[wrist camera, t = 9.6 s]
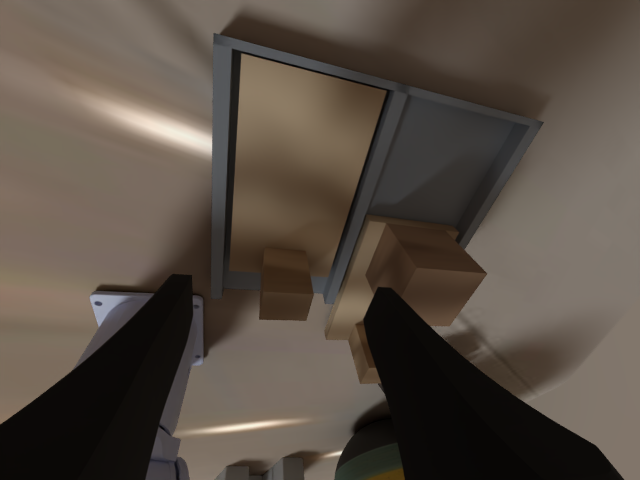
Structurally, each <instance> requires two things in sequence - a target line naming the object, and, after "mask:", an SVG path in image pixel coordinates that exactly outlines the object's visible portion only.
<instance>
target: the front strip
mask: <svg viewBox="0 0 640 480" xmlns="http://www.w3.org/2000/svg"><path fill="white" fill-rule="evenodd" d="M386 92H387V91H385V90H382V89H379V88H375V87H371V86H368V85H364V84H360V83H356V82H352V81H348V80H344V79H340V78H337V77H333V76H329V75H325V74H321V73H317V72H313V71H310V70H306V69H302V68H298V67H294V66H290V65H286V64H283V63H279V62H275V61H271V60H267V59H263V58H259V57H255V56H252V55H248V54H244V53H242V54H241V71H240V89H239V106H238V124H237V142H236V159H235V177H234V195H233V212H232V230H231V248H230V265H229V271H241V272H256V273H261V287H260V314H259V319H260V320H299V321H306V320H307V316H308V313H309V309H310V306H311V302H312V299H313V296H314V292H313V287H312V281H311V276H315V277H328V276H329V273H330V270H331V267H332V264H333V260H334V257H335V254H336V251H337V248H338V245H339V241H340V238H341V235H342V232H343V229H344V225H345V222H346V219H347V216H348V213H349V210H350V206H351V203H352V200H353V197H354V194H355V190H356V187H357V184H358V181H359V178H360V175H361V171H362V168H363V165H364V162H365V159H366V156H367V152H368V149H369V146H370V143H371V140H372V136H373V133H374V130H375V127H376V124H377V121H378V117H379V114H380V111H381V108H382V105H383V101H384V98H385V95H386Z"/></svg>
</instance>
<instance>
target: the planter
mask: <svg viewBox="0 0 640 480" xmlns="http://www.w3.org/2000/svg"><path fill="white" fill-rule="evenodd" d="M334 480H405V477H404V472H403V467H402V462H401V457H400V452H399V448H398V443H397V438H396V434H395V430H394V426H393V421H392V419H386V420H381V421H377V422H374V423H372V424H369V425H367V426H366V427H364V428H362V429H361V430H359V431H358V432H357V433H356V434H355V435H354V436H353V437H352V438H351V439H350V441H349V442H348V443H347V445H346V447H345V448H344V450H343V452H342V454H341V456H340V459H339V461H338V464H337V468H336V472H335V479H334Z"/></svg>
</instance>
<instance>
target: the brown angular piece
mask: <svg viewBox="0 0 640 480" xmlns="http://www.w3.org/2000/svg"><path fill="white" fill-rule="evenodd" d="M386 223H389V224H397V225H405V226H413V227H421V228H429V229H437V230H445V231H446V232H447V233H448V234H449V235H450V236H451V237H452V238H453V239H454V240H455V239H456V237H457V235H458V234H459V232H458V231H457V230H456V229H455V228H454V227H453V226H451V225H444V224H436V223H429V222H421V221H414V220H406V219H398V218H391V217H383V216H376V215H368V214H366V215H365V218H364V221H363V224H362V227H361V229H360V232H359V235H358V238H357V241H356V243H355V246H354V249H353V252H352V255H351V258H350V260H349V263H348V266H347V269H346V272H345V275H344V277H343V280H342V283H341V286H340V289H339V291H338V294H337V297H336V300H335V303H334V306H333V308H332V311H331V314H330V317H329V320H328V322H327V325H326V328H325V331H324V332H325V337H326V340H348V341H349V345H350V348H351V352H352V356H353V359H354V363H355V367H356V370H357V374H358V378H359V381H360V384H370V383H381V381H380V378H379V375H378V372H377V369H376V367H375V364H374V361H373V358H372V355H371V352H370V349H369V346H368V342H367V338H366V333H365V328H364V322H363V318H364V316H365V314H366V312H367V310H368V307H369V305H370V303H371V301H372V299H373V296H374V295H373V292H372V290H371V287H370V285H369V283H368V280H367V278H366V276H365V274H366V272H367V269H368V267H369V265H370V262H371V260H372V257H373V255H374V252H375V250H376V247H377V245H378V242H379V240H380V238H381V235H382V233H383V230H384V228H385V225H386Z"/></svg>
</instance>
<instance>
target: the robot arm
mask: <svg viewBox="0 0 640 480" xmlns="http://www.w3.org/2000/svg"><path fill="white" fill-rule="evenodd" d="M90 301H91V304H92V307H93V310H94V313H95V316H96V320H97V323H98V326H99V328H98V330H97V332H96V333H95V335H94V336H93V338H92V340H91V341H90V343H89V345H88V346H87V348H86V349H85V351H84V353H83V354H82V356H81V358H80V359H79V361H78V362H77V364H76V366H75V367H74V369H73V370H72V371H71V372H70V373H69V374H67V375H66V376H65V377H64V378H62V379H61V380H60V381H59V382H57V383H56V384H55V385H53V386H52V387H51V388H49V389H48V390H47V391H45V392H44V393H43V394H42V395H40V396H39V397H38V398H36V399H35V400H34V401H32V402H31V403H30V404H28V405H27V406H26V407H24V408H23V409H21V410H20V411H19V412H17V413H16V414H14V415H13V416H12V417H10V418H9V419H7V420H6V421H5V422H3V423H2V424H0V480H190V478H189V472H188V468H187V464H186V462H185V460H184V459H182V458H181V457H177V454H178V450H179V446H180V441H181V440H180V439H179V438H175V437H172V435H173V433H174V431H175V429H176V426H177V423H178V419H179V415H180V411H181V407H182V403H183V399H184V395H185V390H186V386H187V382H188V378H189V374H190V370H191V366H192V365H201V364H203V361H204V332H203V298H202V297H201V296H197V295H193V293H192V275H179V274H172V275H171V276H170V277H169V278H168V279H167V280H166V281H165V282H164V284H163V285H162V286H161V287H160V288H159V289H158V290H157V291H156V293H132V292H110V291H94V292H93V293H92V294H91V295H90ZM99 301H100V302H99ZM197 305H198V306H197ZM363 322H364V328H365V333H366V338H367V342H368V346H369V349H370V352H371V355H372V358H373V361H374V364H375V367H376V369H377V372H378V375H379V378H380V381H381V384H382V387H383V390H384V393H385V396H386V399H387V402H388V406H389V409H390V413H391V417H392V421H393V426H394V430H395V434H396V438H397V443H398V448H399V452H400V457H401V462H402V467H403V472H404V477H405V480H624V479H623V478H622V476H621V475H620V474H619V473H618V472H617V470H616V469H615V468H614V467H613V465H612V464H611V463H610V462H609V460H608V459H607V458H606V457H605V456H604V454H603V453H602V452H601V451H600V450H599V448H598V447H597V446H596V445H594V444H592V443H591V442H589V441H587V440H585V439H584V438H582V437H580V436H579V435H577V434H575V433H573V432H571V431H570V430H568V429H566V428H565V427H563V426H561V425H560V424H558V423H556V422H554V421H553V420H551V419H549V418H548V417H546V416H545V415H543V414H542V413H540V412H539V411H537V410H535V409H534V408H532V407H531V406H529V405H528V404H526V403H525V402H523V401H522V400H520V399H519V398H517V397H516V396H514V395H513V394H511V393H510V392H509V391H507V390H506V389H504V388H503V387H502V386H500V385H499V384H497V383H496V382H495V381H493V380H492V379H491V378H489V377H488V376H487V375H485V374H484V373H483V372H481V371H480V370H479V369H478V368H476V367H475V366H474V365H473V364H471V363H470V362H469V361H468V360H467V359H465V358H464V357H463V356H462V355H461V354H459V353H458V352H457V351H456V350H455V349H454V348H453V347H452V346H450V345H449V344H448V343H447V342H446V341H445V340H444V339H443V338H442V337H441V336H439V335H438V334H437V333H436V332H435V331H434V330H433V329H432V328H431V327H430V326H429V325H428V324H427V323H426V322H425V321H424V320H423V319H422V318H421V317H420V316H419V315H418V314H417V313H416V312H415V311H414V310H413V309H412V308H411V307H410V306H409V305H408V304H407V303H406V302H405V301H404V300H403V299H402V298H401V297H400V296H399V295H398V294H397V293H396V292H395V291H394V290H393V289H392V288H390V287H378V288H377V290H376V292H375V294H374V296H373V299H372V301H371V303H370V305H369V307H368V310H367V312H366V314H365V316H364V318H363Z"/></svg>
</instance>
